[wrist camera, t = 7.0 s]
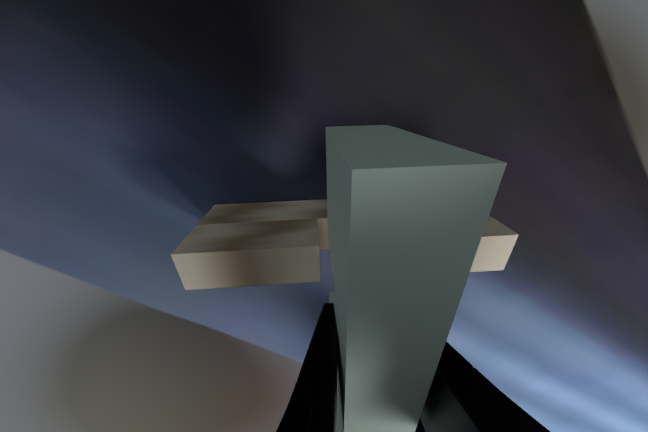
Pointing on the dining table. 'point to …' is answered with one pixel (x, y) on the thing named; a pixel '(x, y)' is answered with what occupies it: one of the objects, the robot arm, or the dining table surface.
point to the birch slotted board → (284, 245)
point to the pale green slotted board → (398, 263)
